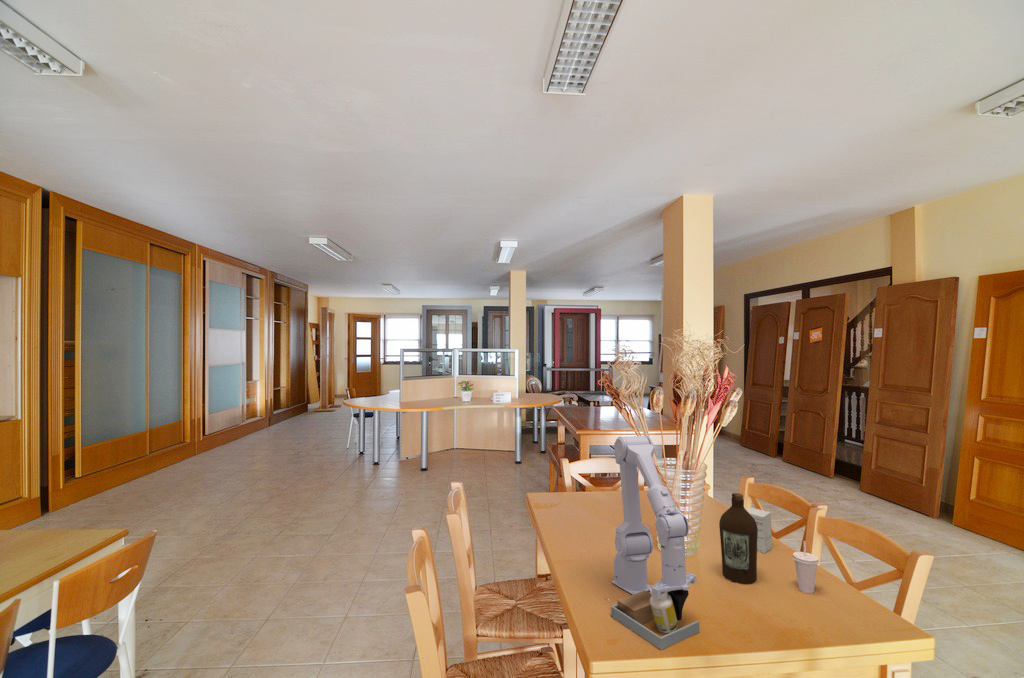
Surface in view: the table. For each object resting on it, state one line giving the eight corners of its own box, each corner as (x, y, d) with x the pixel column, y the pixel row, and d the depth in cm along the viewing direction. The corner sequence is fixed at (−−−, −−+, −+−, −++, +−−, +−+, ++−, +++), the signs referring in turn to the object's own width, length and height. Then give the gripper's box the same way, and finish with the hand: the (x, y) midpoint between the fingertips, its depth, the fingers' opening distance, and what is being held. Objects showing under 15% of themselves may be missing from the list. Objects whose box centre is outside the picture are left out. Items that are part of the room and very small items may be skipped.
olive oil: (724, 566, 151) (722, 487, 152) (761, 575, 144) (759, 493, 145) (716, 578, 142) (715, 495, 143) (755, 588, 136) (753, 501, 137)
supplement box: (750, 542, 170) (749, 506, 171) (772, 548, 165) (771, 511, 165) (742, 547, 165) (741, 511, 166) (765, 554, 160) (764, 516, 160)
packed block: (617, 615, 122) (617, 600, 122) (644, 605, 127) (644, 590, 127) (634, 627, 117) (634, 610, 117) (662, 615, 122) (662, 600, 122)
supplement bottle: (676, 617, 118) (668, 581, 118) (680, 633, 113) (671, 595, 112) (655, 619, 120) (646, 583, 119) (657, 634, 114) (648, 598, 114)
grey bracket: (611, 616, 122) (611, 606, 122) (648, 602, 129) (647, 592, 129) (661, 649, 108) (660, 638, 108) (699, 632, 115) (699, 621, 115)
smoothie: (791, 590, 135) (789, 541, 135) (796, 582, 140) (795, 534, 140) (817, 598, 130) (815, 547, 131) (821, 589, 135) (820, 540, 136)
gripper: (666, 575, 111) (669, 635, 110) (705, 561, 118) (708, 617, 117) (643, 565, 117) (646, 622, 116) (682, 552, 124) (685, 605, 123)
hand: (676, 619), depth 117 cm, fingers closed, pressing on supplement bottle
